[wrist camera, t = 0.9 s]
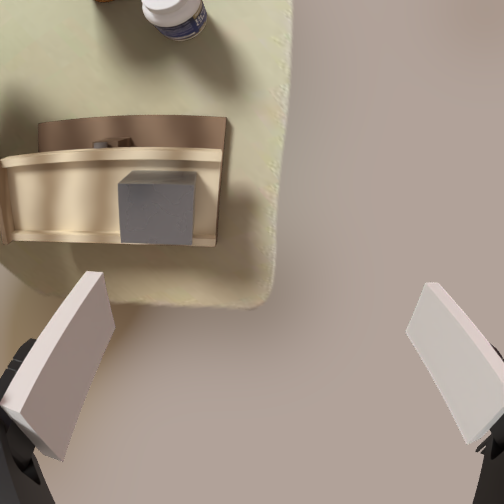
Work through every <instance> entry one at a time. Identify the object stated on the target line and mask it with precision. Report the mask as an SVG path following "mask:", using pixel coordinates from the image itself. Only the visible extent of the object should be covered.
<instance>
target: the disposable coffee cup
mask: <svg viewBox="0 0 504 504" xmlns="http://www.w3.org/2000/svg"><path fill="white" fill-rule="evenodd" d="M95 1H98V2H110V1H113V0H95Z"/></svg>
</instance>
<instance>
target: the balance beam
mask: <svg viewBox="0 0 504 504" xmlns="http://www.w3.org/2000/svg"><path fill="white" fill-rule="evenodd" d="M221 161H222V151H221V149H207V148H180V147H118V148H107V142H97V143H94V148H93V149H76V150H62V151H51V152H41V153H32V154H23V155H15V156H8V157H6V158H3V159H0V232H1V237H2V242H3V244H9V243H10V242H11V241H47V242H82V243H115V244H138V243H121V237H120V224H119V206H118V183H119V182H120V181H121V180H122V179H123V178H125V177H126V176H127V175H128V174H129V173H130V172H131V171H133V170H156V171H195V172H197V175H196V194H195V217H194V230H193V241H192V245H177V246H207V247H215V243H216V236H215V234H216V219H217V204H218V190H219V178H220V165H221ZM147 245H170V244H147Z"/></svg>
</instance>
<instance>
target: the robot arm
mask: <svg viewBox="0 0 504 504" xmlns="http://www.w3.org/2000/svg"><path fill="white" fill-rule="evenodd" d="M114 330H115V324H114V319H113V316H112V311H111V307H110V303H109V298H108V294H107V289H106V284H105V279H104V274H103V272H92V271H86V272H85V274H84V275H83V276H82V277H81V279H80V280H79V281H78V283H77V284H76V285H75V286H74V288H73V289H72V290H71V292H70V293H69V295H68V296H67V297H66V299H65V300H64V301H63V303H62V304H61V306H60V307H59V308H58V310H57V311H56V312H55V314H54V315H53V317H52V318H51V320H50V321H49V323H48V324H47V326H46V327H45V328H44V330H43V331H42V333H41V334H40V336H39V337H38V339H37V340H36V339H29V340H28V341H27V342H26V343H24V344H23V345H22V346H21V347H20V348H19V350H18V351H17V353H16V354H15V356H14V357H13V360H12V361H11V362H10V364H9V365H8V369H6V370H5V372H4V374H3V375H2V377H1V378H0V504H55V502H54V500H53V497H52V495H51V493H50V491H49V489H48V486H47V484H46V482H45V479H44V477H43V474H42V472H41V469H40V467H39V464H38V461H37V459H36V457H35V455H34V453H33V451H34V448H35V446H36V447H37V448H38V449H39V450H40V452H41V453H42V454H44V455H46V456H48V457H51V458H54V459H57V460H60V461H62V462H63V461H64V457H65V454H66V451H67V448H68V445H69V442H70V439H71V436H72V433H73V430H74V428H75V425H76V422H77V419H78V416H79V414H80V411H81V408H82V406H83V403H84V401H85V398H86V395H87V393H88V390H89V388H90V385H91V383H92V380H93V378H94V376H95V373H96V371H97V368H98V366H99V364H100V361H101V359H102V357H103V354H104V352H105V350H106V347H107V345H108V343H109V341H110V338H111V336H112V334H113V332H114ZM405 332H406V334H407V335H408V337H409V339H410V340H411V342H412V344H413V345H414V347H415V349H416V351H417V352H418V354H419V356H420V357H421V359H422V361H423V362H424V364H425V366H426V368H427V369H428V371H429V373H430V375H431V376H432V378H433V380H434V382H435V384H436V386H437V387H438V389H439V391H440V393H441V395H442V397H443V399H444V400H445V402H446V404H447V406H448V408H449V410H450V412H451V414H452V416H453V418H454V420H455V422H456V424H457V426H458V428H459V430H460V432H461V434H462V436H463V438H464V440H465V443H466V445H468V444H470V443H472V442H474V441H477V440H478V439H480V438H481V437H482V436H483V435H484V434H485V433H486V432H487V431H488V430H489V429H490V431H491V433H492V434H491V435H490V436H489V437H488V438H487V439H486V440H485V441H484V442H482V443H481V444H480V445H479V446H478V447H477V449H476V452H478V451H480V449H482V448H483V447H484V446H486V447H485V448H484V450H482V452H481V454H484V460H483V464H482V469H481V474H480V478H479V482H478V486H477V490H476V493H475V497H474V500H473V504H504V359H503V358H502V356H501V354H500V353H499V351H498V350H497V349H496V348H495V347H494V346H493V345H491V344H490V343H489V342H488V341H487V340H486V338H485V337H484V336H483V335H482V333H481V332H480V331H479V330H478V328H477V327H476V326H475V325H474V323H473V322H472V321H471V320H470V319H469V317H468V316H467V315H466V314H465V313H464V312H463V310H462V309H461V308H460V307H459V306H458V305H457V303H456V302H455V301H454V300H453V299H452V298H451V297H450V295H449V294H448V293H447V292H446V291H445V290H444V289H443V288H442V287H441V285H440V284H439V283H425V285H424V288H423V290H422V293H421V295H420V298H419V300H418V303H417V305H416V308H415V310H414V313H413V315H412V318H411V320H410V322H409V325H408V327H407V329H406V331H405Z"/></svg>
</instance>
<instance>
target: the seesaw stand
mask: <svg viewBox="0 0 504 504" xmlns="http://www.w3.org/2000/svg"><path fill="white" fill-rule="evenodd" d="M226 120H227V118H226V117H211V116H189V115H128V116H106V117H92V118H80V119H70V120H61V121H53V122H45V123H39V124H38V148H39V153H41V152H51V151H62V150H76V149H93V148H94V143H97V142H107V148H118V147H180V148H207V149H221V151H222V161H221V165H220V178H219V190H218V204H217V219H216V234H215V236H216V243H217V229H218V215H219V201H220V188H221V175H222V163H223V152H224V141H225V130H226ZM216 243H215V246H216Z"/></svg>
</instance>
